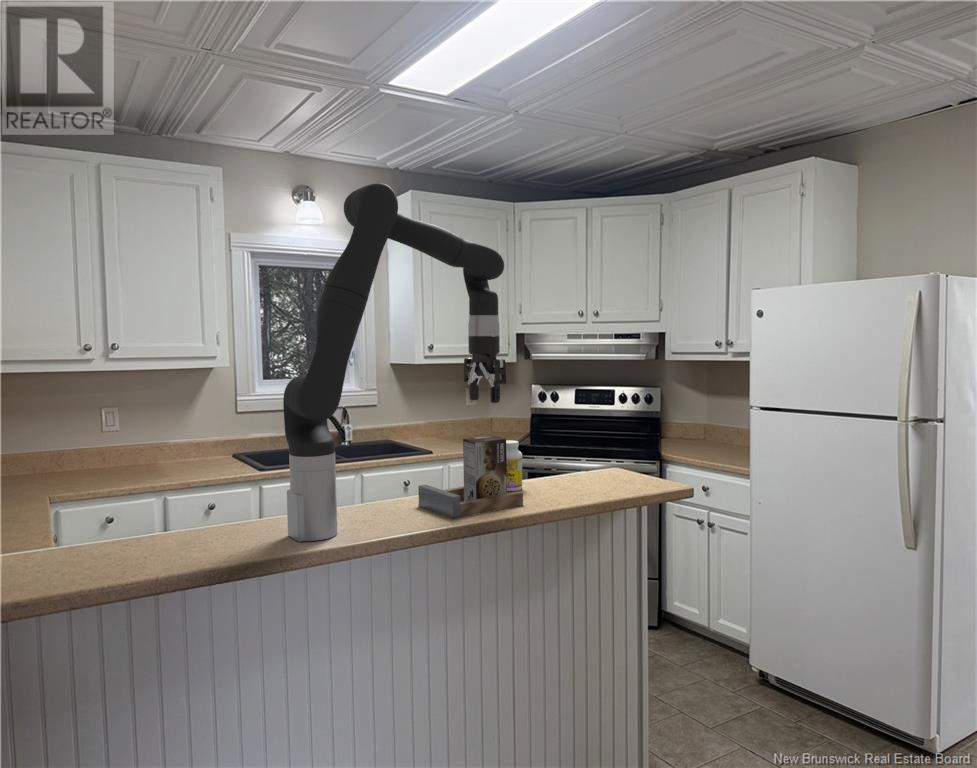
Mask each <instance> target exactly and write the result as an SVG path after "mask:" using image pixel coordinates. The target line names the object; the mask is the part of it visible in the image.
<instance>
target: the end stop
mask: <svg viewBox="0 0 977 768" xmlns="http://www.w3.org/2000/svg"><path fill="white" fill-rule="evenodd" d="M417 488H418V490H417V491H418V507H420V506H421V508H422V507H423V509H425V508H426V509H425V510H427V511H430V510H431V511H430V512H434V513H435V514H438V515H442V516H443V517H446V518H449V519H452V520H456V518H457V519H460V518H462V517H460V502H461V501H460V496H459V495H456V494H453V493H450V492H447V491H444V490H445V489H440V488H439V487H438V488H437V487H434V486H431V485H428V484H421V485H418V487H417Z"/></svg>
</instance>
